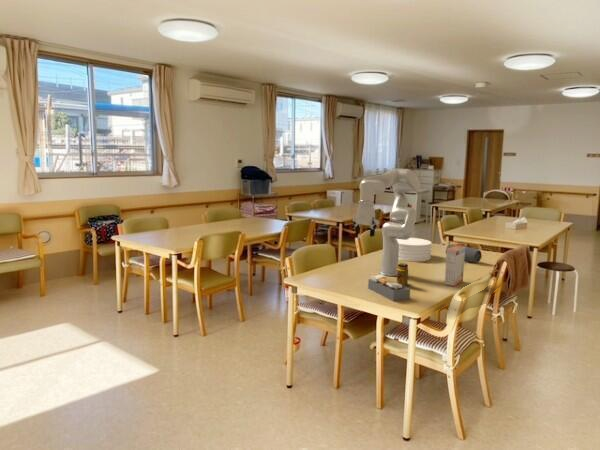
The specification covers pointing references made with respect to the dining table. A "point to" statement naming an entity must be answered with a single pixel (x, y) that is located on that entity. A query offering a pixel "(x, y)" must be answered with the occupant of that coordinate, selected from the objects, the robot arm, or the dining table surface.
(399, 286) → the rocker outlet
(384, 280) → the outlet rocker
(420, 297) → the dining table surface
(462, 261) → the cracker box
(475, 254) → the bluetooth speaker
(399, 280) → the condiment
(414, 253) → the plate stack
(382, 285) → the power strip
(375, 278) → the outlet rocker
